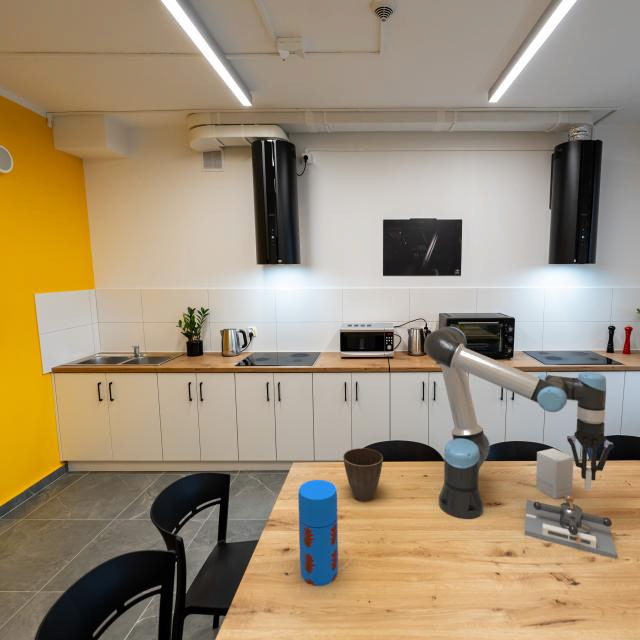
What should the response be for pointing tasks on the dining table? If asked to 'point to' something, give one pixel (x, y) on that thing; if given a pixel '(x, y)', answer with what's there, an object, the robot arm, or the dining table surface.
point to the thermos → (318, 532)
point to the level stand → (551, 530)
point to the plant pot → (363, 472)
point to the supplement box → (554, 473)
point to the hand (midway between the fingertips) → (587, 488)
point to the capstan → (573, 516)
